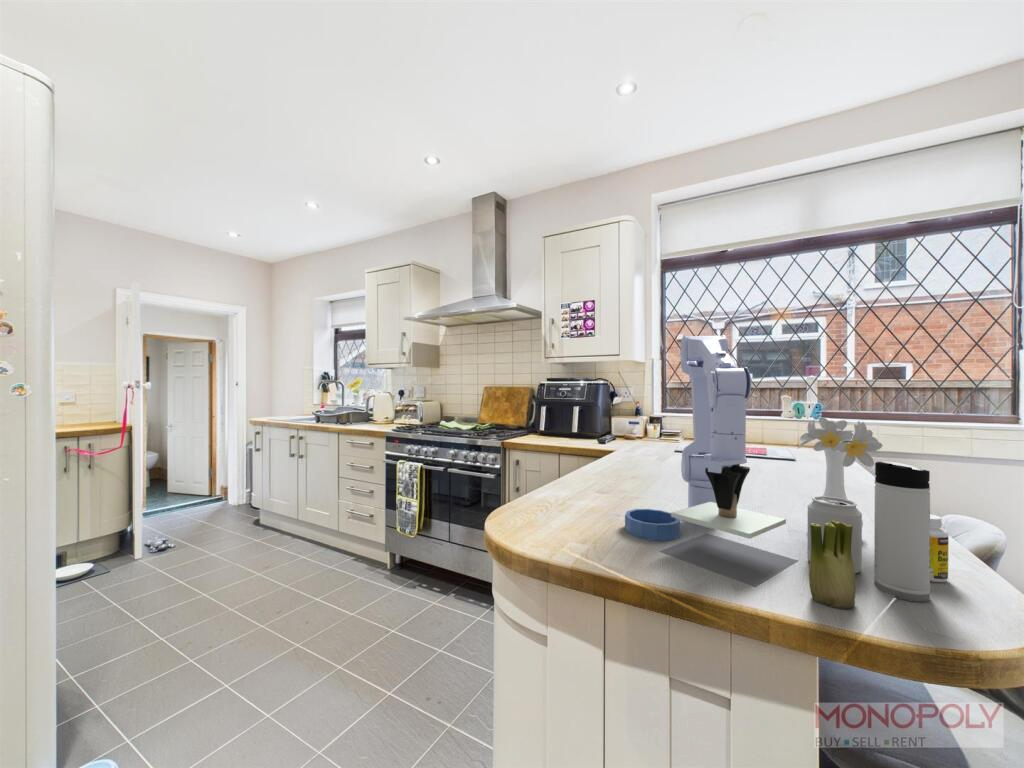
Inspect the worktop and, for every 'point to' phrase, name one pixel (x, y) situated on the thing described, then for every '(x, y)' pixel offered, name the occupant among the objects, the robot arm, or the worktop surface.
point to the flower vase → (841, 450)
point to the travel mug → (902, 531)
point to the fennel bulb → (832, 565)
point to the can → (839, 511)
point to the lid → (730, 519)
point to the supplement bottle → (938, 550)
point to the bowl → (652, 524)
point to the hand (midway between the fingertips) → (727, 506)
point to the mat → (730, 558)
